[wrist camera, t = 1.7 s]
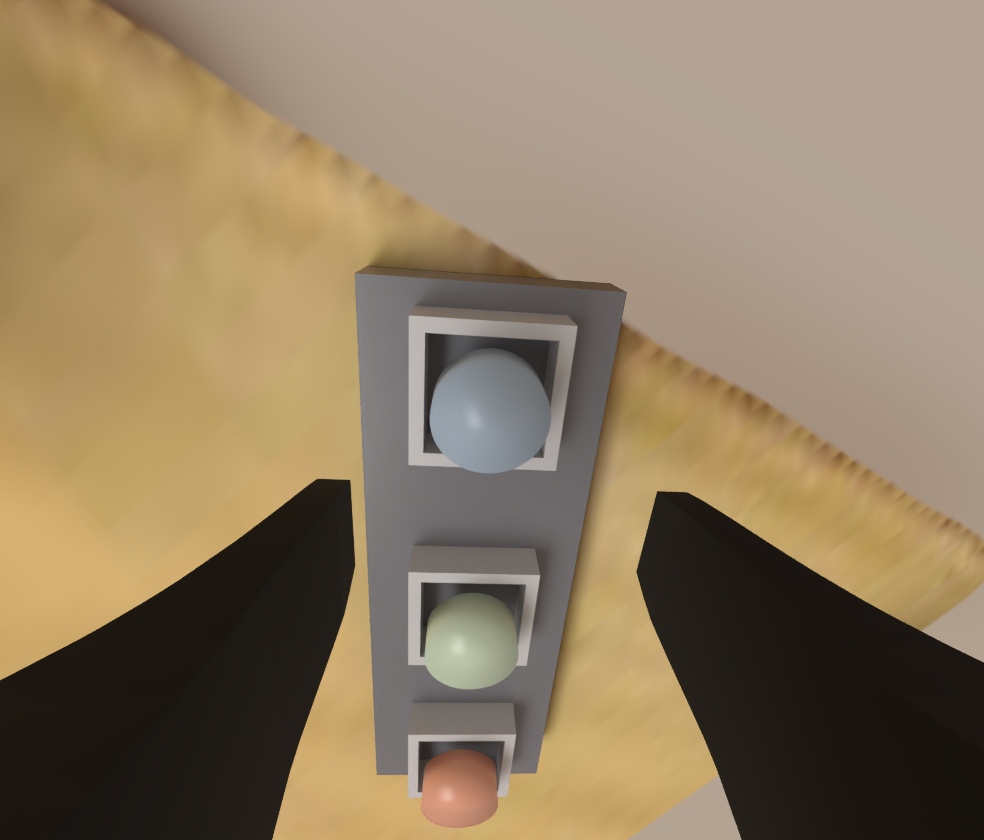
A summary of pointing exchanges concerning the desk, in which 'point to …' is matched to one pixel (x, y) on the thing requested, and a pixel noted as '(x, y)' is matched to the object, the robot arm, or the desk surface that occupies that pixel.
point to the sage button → (471, 641)
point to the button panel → (473, 500)
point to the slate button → (489, 411)
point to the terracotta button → (459, 789)
